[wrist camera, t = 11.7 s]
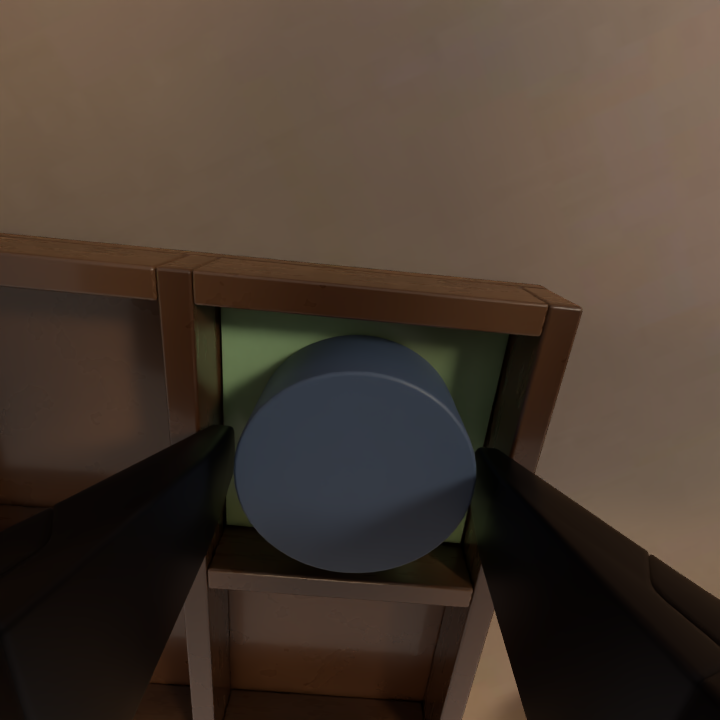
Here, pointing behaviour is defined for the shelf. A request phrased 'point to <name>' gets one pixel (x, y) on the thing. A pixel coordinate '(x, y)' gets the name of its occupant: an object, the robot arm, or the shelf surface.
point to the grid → (233, 408)
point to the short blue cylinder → (355, 457)
